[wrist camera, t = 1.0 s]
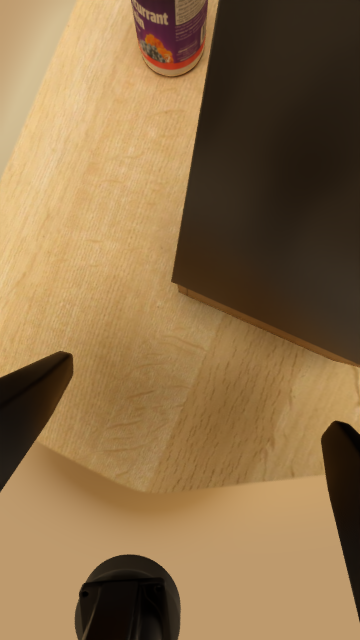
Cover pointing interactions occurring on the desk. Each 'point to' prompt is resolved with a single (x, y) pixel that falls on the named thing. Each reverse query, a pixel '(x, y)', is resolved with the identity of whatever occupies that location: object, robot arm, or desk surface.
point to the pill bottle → (170, 33)
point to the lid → (279, 171)
